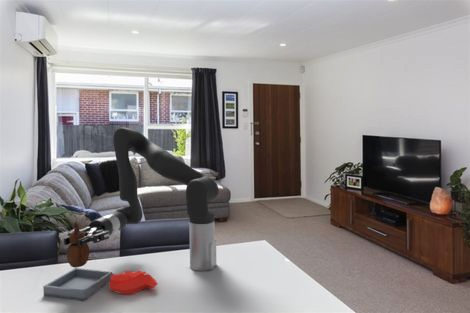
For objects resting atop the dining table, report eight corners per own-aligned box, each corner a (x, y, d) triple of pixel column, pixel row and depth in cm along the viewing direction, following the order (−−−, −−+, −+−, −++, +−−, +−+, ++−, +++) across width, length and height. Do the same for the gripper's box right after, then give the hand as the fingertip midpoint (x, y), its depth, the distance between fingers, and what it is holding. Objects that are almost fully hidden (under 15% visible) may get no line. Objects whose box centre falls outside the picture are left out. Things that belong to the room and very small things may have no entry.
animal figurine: (156, 296, 108) (156, 281, 108) (106, 298, 107) (106, 282, 107) (161, 280, 120) (160, 265, 119) (116, 281, 119) (115, 267, 118)
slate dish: (112, 280, 119) (112, 271, 119) (84, 301, 105) (83, 291, 105) (75, 276, 123) (75, 267, 122) (43, 295, 109) (43, 286, 108)
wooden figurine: (80, 270, 110) (77, 223, 108) (63, 268, 111) (61, 222, 109) (92, 262, 116) (91, 217, 115) (77, 260, 117) (75, 216, 116)
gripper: (86, 215, 128) (51, 229, 111) (121, 218, 124) (90, 232, 108) (87, 235, 128) (53, 252, 112) (122, 238, 125) (91, 256, 109)
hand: (71, 242), depth 110 cm, fingers closed on wooden figurine, 4 cm apart
